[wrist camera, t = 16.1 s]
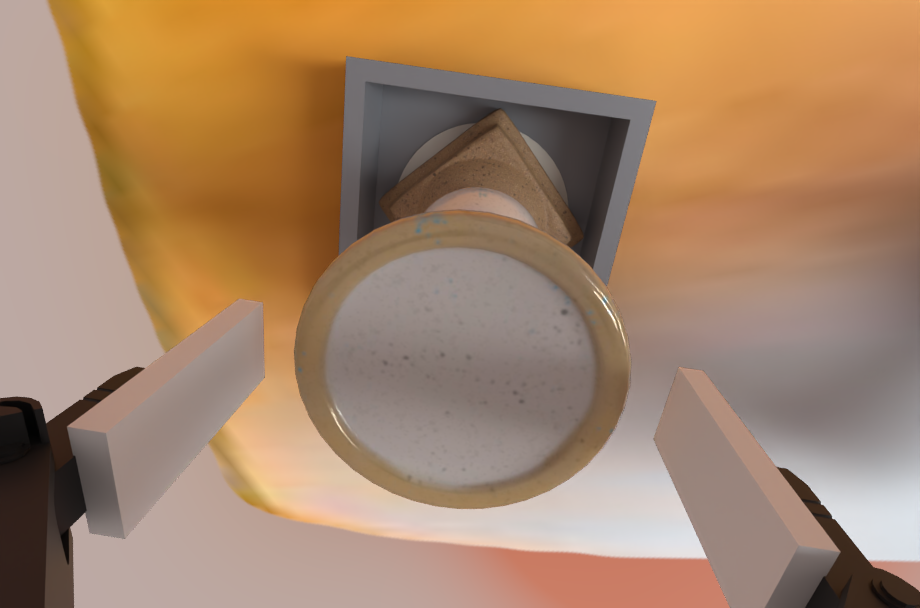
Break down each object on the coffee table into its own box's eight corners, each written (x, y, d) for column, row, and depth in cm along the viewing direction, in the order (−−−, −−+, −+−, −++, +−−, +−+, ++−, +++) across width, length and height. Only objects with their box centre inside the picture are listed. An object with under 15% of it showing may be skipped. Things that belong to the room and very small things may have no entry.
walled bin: (630, 101, 34) (656, 101, 29) (572, 335, 41) (584, 371, 36) (370, 63, 34) (346, 56, 29) (357, 303, 42) (335, 333, 36)
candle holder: (379, 196, 37) (202, 339, 15) (501, 103, 34) (508, 106, 12) (465, 308, 40) (425, 566, 18) (584, 231, 37) (715, 427, 15)
